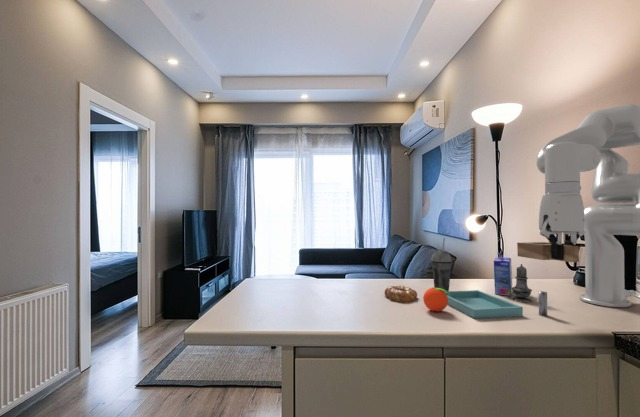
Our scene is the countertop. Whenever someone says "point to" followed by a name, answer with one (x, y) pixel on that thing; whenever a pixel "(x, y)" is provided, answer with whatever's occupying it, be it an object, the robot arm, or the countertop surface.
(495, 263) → the ink cartridge box
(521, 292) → the grey tiered figurine
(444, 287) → the beverage cup
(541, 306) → the grey metallic cylinder
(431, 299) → the clementine
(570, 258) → the wooden frame with stub
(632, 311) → the countertop surface
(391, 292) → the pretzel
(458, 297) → the tray
